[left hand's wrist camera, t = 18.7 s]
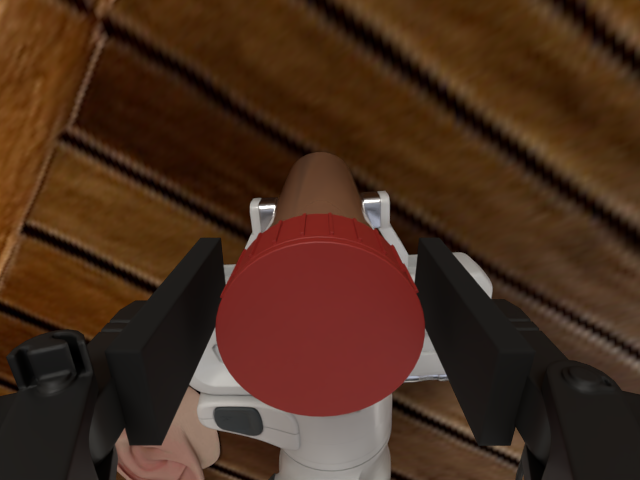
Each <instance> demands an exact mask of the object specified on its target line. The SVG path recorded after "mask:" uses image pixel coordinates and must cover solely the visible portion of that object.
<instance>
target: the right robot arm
mask: <svg viewBox="0 0 640 480" xmlns="http://www.w3.org/2000/svg"><path fill="white" fill-rule="evenodd" d="M361 198H362V200H363V203H364V205H365V208H366V210H367V212H368V215H369V217H370V220H371V222H372V225H373V227H374V228H378V229H379V231H380V232H381V234H382V235H383V237H384V238H385V240H386V241H387V242H388V243H389V244H390V245H392V244H393V245H394V247H395V249H396V251H397V253H398V255H399V257H400V259H401V261H402V263H404V264H405V265H406V267H407V269H408V271H409V273H410V275H411V277H412V279H413V281H414V282H415V273H416V264H417V255H408V253H407V251H406V250H405V248H404V246H403V244H402V242H401V241H400V239H399V237H398V236H397V234H396V232H395V231H394V229H393V228H392V226H391V224H390V200H389V195H388V194H387V192H386V191H376V192H361ZM277 201H278V198H255V199H253V200H252V202H251V203H250V216H251V223H252V231H253V232H252V234H251V236H250V238H249V240H248V243H247V245H246V247H245V249H246V250H247V248H248V247H249V246H250V245H251V244H252V242H253V241H254V240H255V239H256V238H257V236H258V234H259V233H260V232H261V233H263V232H265V230H266V228H267V226H268V223H269V221H270V218H271V216H272V213H273V211H274V209H275V206H276V204H277ZM453 255H454V256H455V257H456V258H457V259H458V260H459V262H460V263H461V264H462V265H463V266H464V268H465V269H466V270H467V271H468V272H469V273H470V275H471V276H472V277H473V278H474V279H475V280H476V282H477V283H478V284H479V285H480V286H481V288H482V289H483V290H484V291H485V292H486V293H487V295H488V296H489V297H490V298H492V283H491V281H490V279H489V278H488V276H487V275H486V274H485V272H484V271H483V270H482V269H481V267H480V266H479V265H478V264H477V263H476V262H474V261H473V260H472V259H471V258H470V257H469V256H468V255H466V254H464V253H458V252H456V253H453ZM235 265H236V264H232V265H224V273H225V282H226V284H227V282H228V280H229V278H230V276H231V273H232V271H233V269H234V267H235ZM426 380H437V381H449V380H448V377H447V375H446V373H445V371H444V369H443V366H442V364H441V362H440V360H439V358H438V355H437V353H436V351H435V349H434V347H433V345H432V342H431V340H430V338H429V336H428V334H427V331H426V329H425V338H424V344H423V348H422V351H421V354H420V357H419V360H418V362H417V364H416V366H415V368H414V369H413V371H412V372H411V374H410V375H409V376H408V378H407V379H406V380H405V381H404V382H403V383H412V382H419V381H426ZM189 385H190V386H191V387H193V388H194V389H196V390H198V391H200V392H201V393H200V397H199V402H198V406H197V415H198V419H199V421H200V423H201V424H202V425H204V426H205V427H207V428H210V429H214V430H219V431H225V432H230V433H234V434H239V435H243V436H247V437H251V438H255V439H258V440H261V441H264V442H267V443H270V444H272V445H275V446H277V447H280V449H281V450H280V456H279V473H278V474H275V473H274V474H273V475H272V476H271V477H270V479H269V480H390V478H391V458H390V451H389V448H388V444H387V443H388V441H389V438H390V434H391V427H392V393H391V394H390V395H389V396H387V397H386V398H384V399H383V400H381V401H379V402H377V403H375V404H374V405H372V406H369V407H367V408H364V409H362V410H359V411H356V412H352V413H349V414H344V415H338V416H327V417H312V416H303V415H297V414H292V413H288V412H285V411H282V410H279V409H276V408H273V407H271V406H269V405H267V404H265V403H263V402H261V401H260V400H258V399H256V398H255V397H253V396H252V395H251V394H249V393H248V392H247V391H245V390H244V389H243V388H242V387H241V386H240V385H239V384H238V383H237V382H236V381H235V379H234V378H233V377H232V376H231V374H230V373H229V371H228V370H227V368H226V366H225V365H224V363H223V361H222V358H221V356H220V353H219V350H218V346H217V341H216V332H215V329H214V331H213V334H212V336H211V338H210V340H209V342H208V344H207V347H206V349H205V351H204V353H203V355H202V358H201V360H200V362H199V364H198V366H197V369H196V371H195V373H194V375H193V377H192V380H191V382H190V384H189Z"/></svg>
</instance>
